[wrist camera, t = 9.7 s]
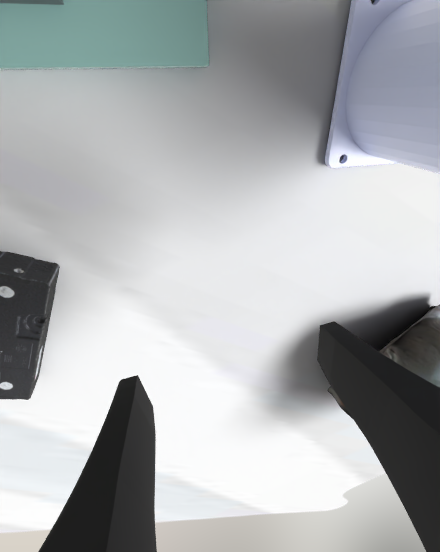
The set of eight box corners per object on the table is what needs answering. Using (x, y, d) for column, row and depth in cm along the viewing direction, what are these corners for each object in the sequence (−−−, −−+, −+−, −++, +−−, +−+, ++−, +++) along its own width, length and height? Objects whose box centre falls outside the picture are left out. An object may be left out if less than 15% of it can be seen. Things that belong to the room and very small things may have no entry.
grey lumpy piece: (466, 284, 27) (635, 433, 20) (387, 335, 36) (484, 447, 30) (356, 350, 21) (543, 586, 15) (297, 390, 31) (394, 542, 24)
